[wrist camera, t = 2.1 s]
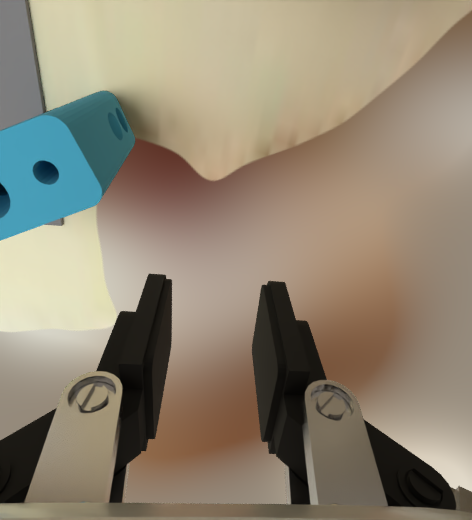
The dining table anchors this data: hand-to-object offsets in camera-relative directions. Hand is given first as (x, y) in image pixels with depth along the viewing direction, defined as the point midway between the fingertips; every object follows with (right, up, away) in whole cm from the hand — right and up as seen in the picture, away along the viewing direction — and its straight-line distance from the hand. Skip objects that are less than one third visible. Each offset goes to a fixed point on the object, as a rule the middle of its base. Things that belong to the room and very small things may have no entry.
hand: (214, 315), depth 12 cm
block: (-15, +15, +24) cm, 32 cm away
